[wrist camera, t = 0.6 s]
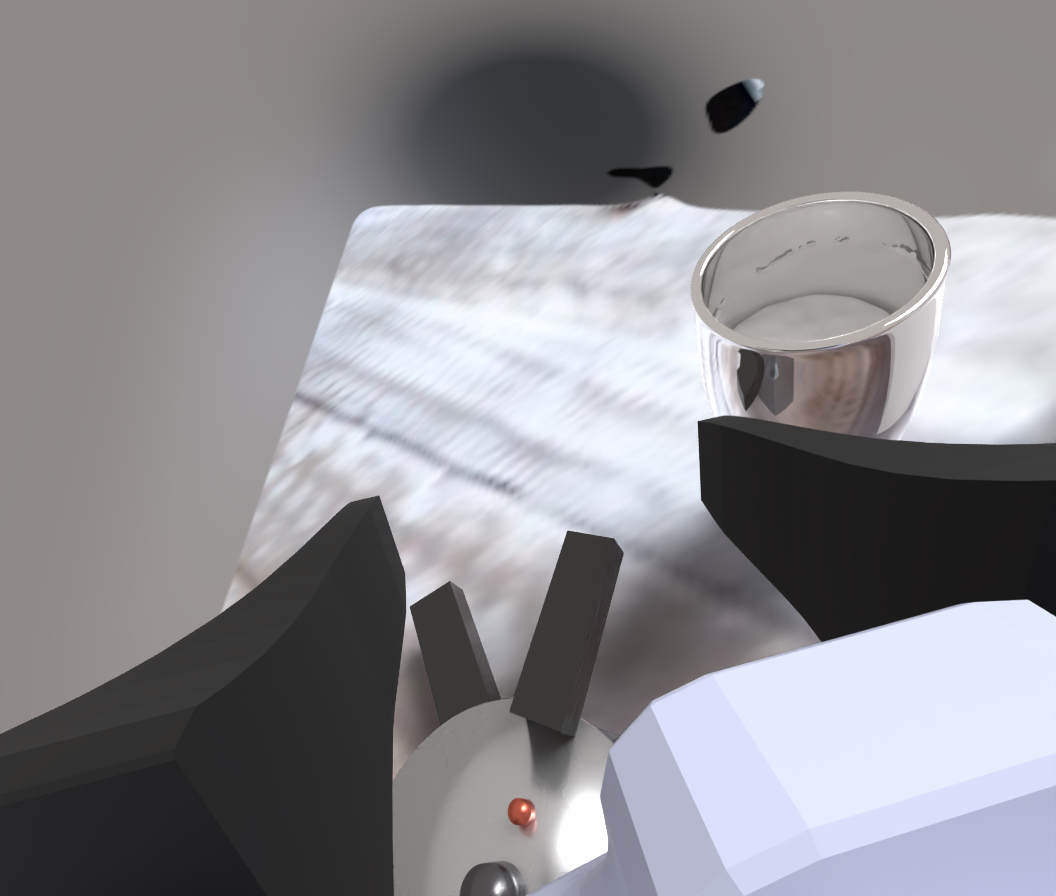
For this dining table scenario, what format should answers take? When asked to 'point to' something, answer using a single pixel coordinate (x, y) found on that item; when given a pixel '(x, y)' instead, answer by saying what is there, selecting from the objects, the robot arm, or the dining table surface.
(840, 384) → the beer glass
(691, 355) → the dining table surface
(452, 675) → the pot
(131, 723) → the robot arm
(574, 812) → the lid
